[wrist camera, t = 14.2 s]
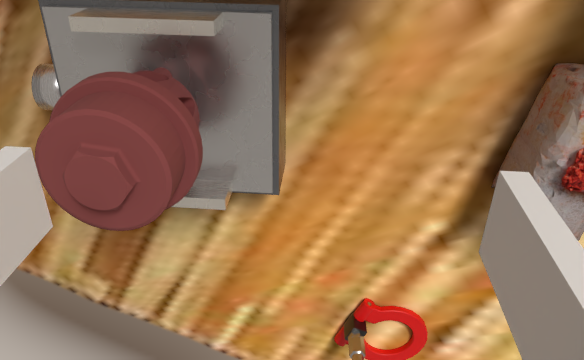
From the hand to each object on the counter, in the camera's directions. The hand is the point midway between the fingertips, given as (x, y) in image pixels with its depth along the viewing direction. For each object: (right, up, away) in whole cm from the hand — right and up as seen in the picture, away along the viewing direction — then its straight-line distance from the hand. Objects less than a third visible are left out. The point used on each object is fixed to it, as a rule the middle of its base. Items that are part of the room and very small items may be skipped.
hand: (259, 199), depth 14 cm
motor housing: (-10, +10, +31) cm, 34 cm away
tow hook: (+12, -17, +45) cm, 49 cm away
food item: (+25, +5, +31) cm, 40 cm away
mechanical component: (-9, +6, +25) cm, 28 cm away
